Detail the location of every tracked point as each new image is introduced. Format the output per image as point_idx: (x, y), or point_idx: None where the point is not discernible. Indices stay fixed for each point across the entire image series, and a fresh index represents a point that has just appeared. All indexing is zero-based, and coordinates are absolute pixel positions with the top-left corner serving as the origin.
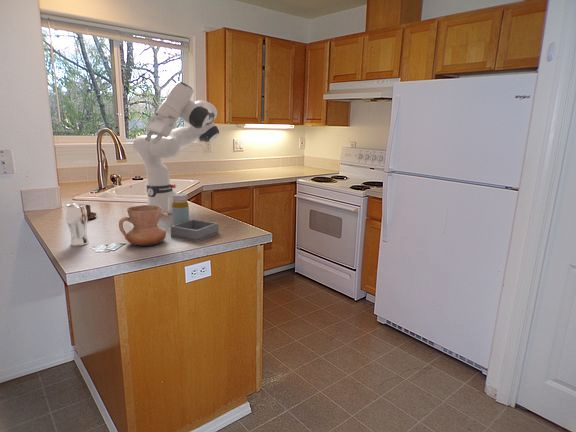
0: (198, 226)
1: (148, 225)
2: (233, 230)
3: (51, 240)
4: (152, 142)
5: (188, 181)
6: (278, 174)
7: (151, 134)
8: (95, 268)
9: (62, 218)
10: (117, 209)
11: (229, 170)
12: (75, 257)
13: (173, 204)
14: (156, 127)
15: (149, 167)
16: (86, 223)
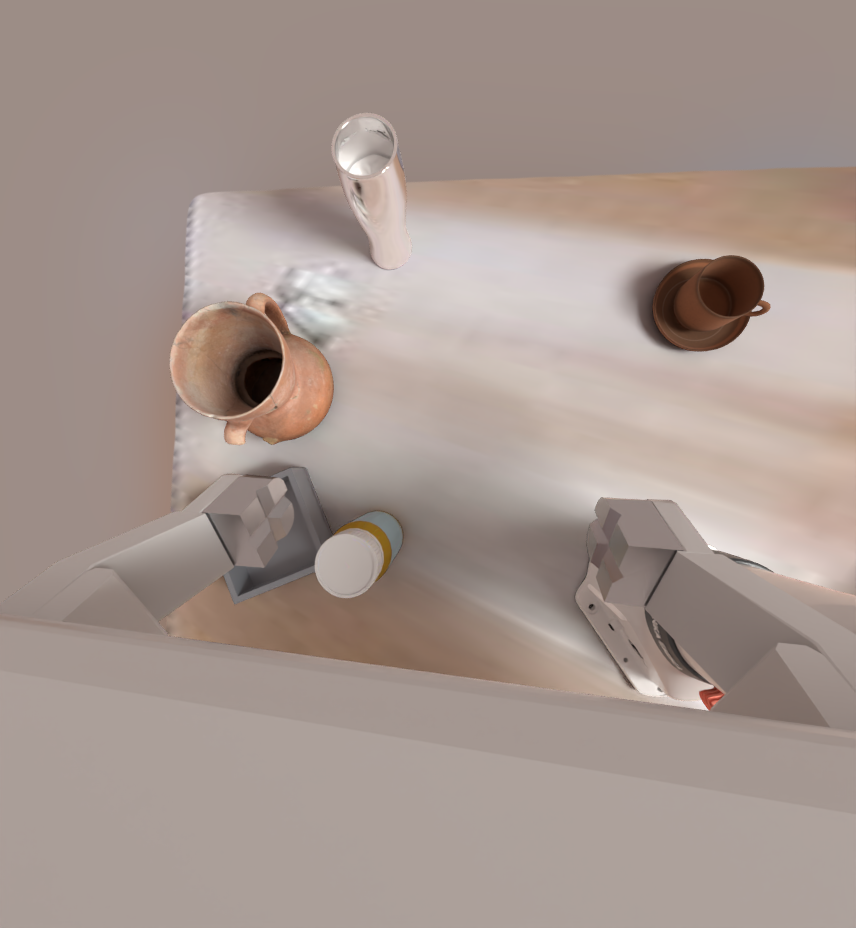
0: (310, 564)
1: (222, 373)
2: (255, 646)
3: (467, 191)
4: (243, 475)
5: None
6: None
7: (720, 700)
8: (187, 243)
9: (737, 253)
10: (778, 452)
11: None
12: (284, 221)
13: (354, 524)
14: (9, 858)
15: (827, 613)
16: (363, 226)
